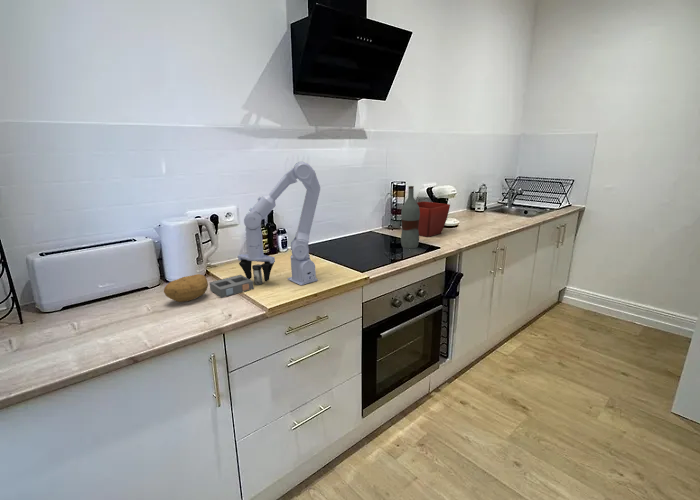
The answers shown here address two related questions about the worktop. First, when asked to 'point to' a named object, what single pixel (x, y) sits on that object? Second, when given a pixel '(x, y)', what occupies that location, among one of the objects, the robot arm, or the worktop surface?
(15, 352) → the worktop surface
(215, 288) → the socket strip
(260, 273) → the jar
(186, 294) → the potato
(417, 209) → the bottle
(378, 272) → the worktop surface
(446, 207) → the plant pot
